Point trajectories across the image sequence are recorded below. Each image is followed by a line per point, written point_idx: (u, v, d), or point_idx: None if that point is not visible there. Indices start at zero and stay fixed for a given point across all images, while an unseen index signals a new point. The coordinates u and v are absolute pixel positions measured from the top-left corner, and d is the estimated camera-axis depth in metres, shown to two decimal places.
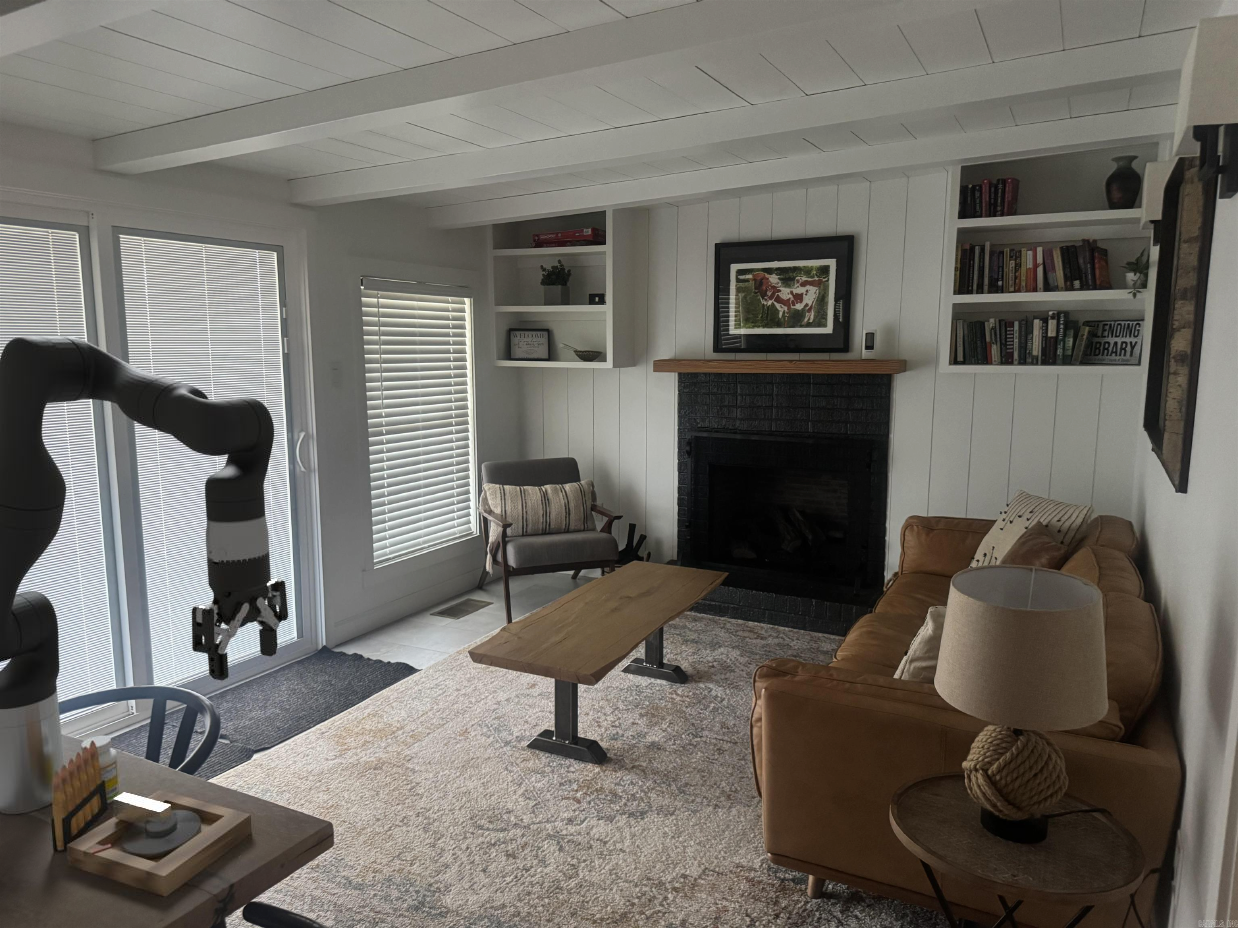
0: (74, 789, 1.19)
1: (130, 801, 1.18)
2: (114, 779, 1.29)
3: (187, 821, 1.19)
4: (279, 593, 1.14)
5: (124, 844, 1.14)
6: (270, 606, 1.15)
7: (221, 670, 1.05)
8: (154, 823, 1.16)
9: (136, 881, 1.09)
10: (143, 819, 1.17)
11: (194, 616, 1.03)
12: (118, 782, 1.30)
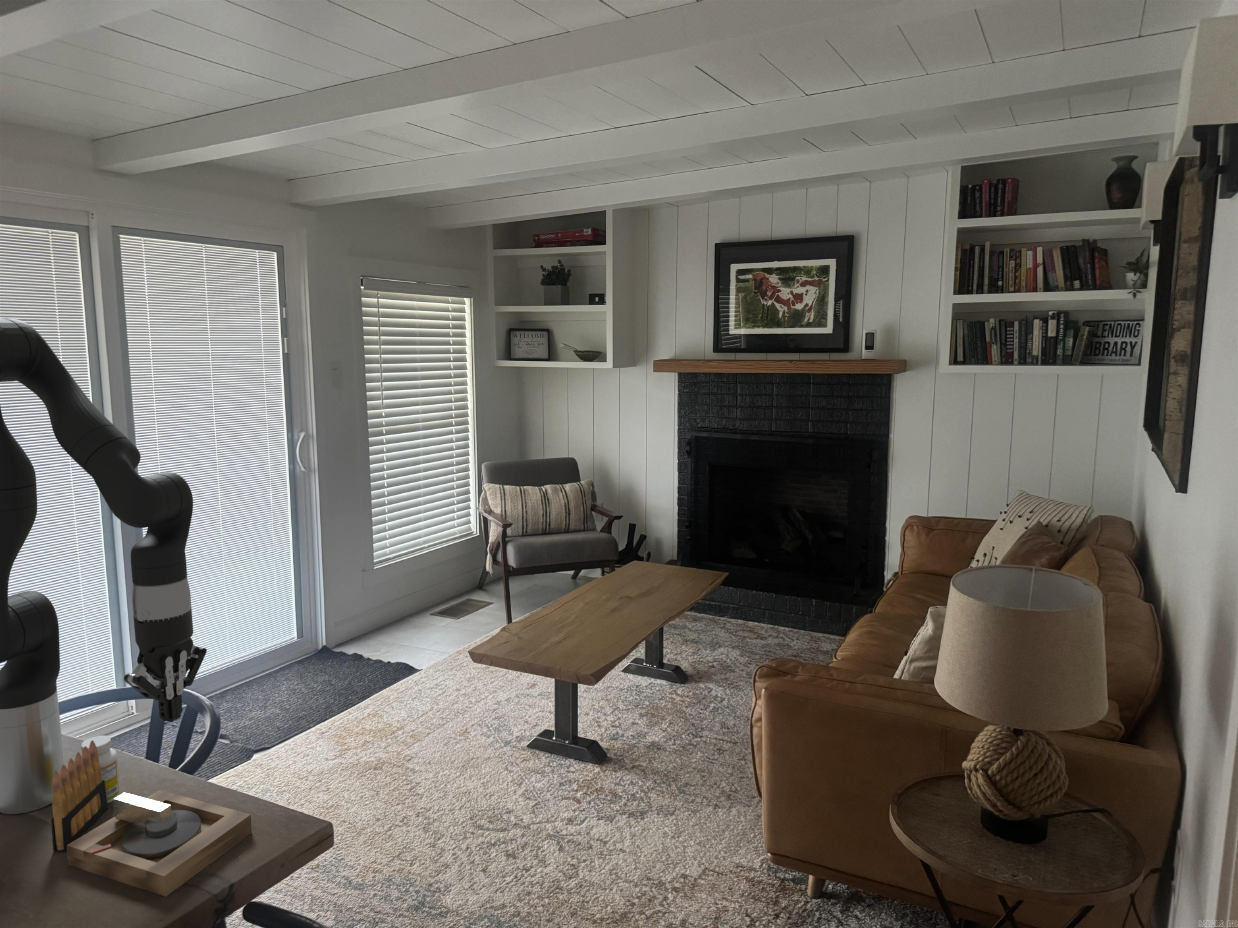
0: (74, 789, 1.19)
1: (130, 801, 1.18)
2: (114, 779, 1.29)
3: (187, 821, 1.19)
4: (197, 657, 1.25)
5: (124, 844, 1.14)
6: None
7: (170, 713, 1.22)
8: (154, 823, 1.16)
9: (136, 881, 1.09)
10: (143, 819, 1.17)
11: (129, 683, 1.16)
12: (118, 782, 1.30)
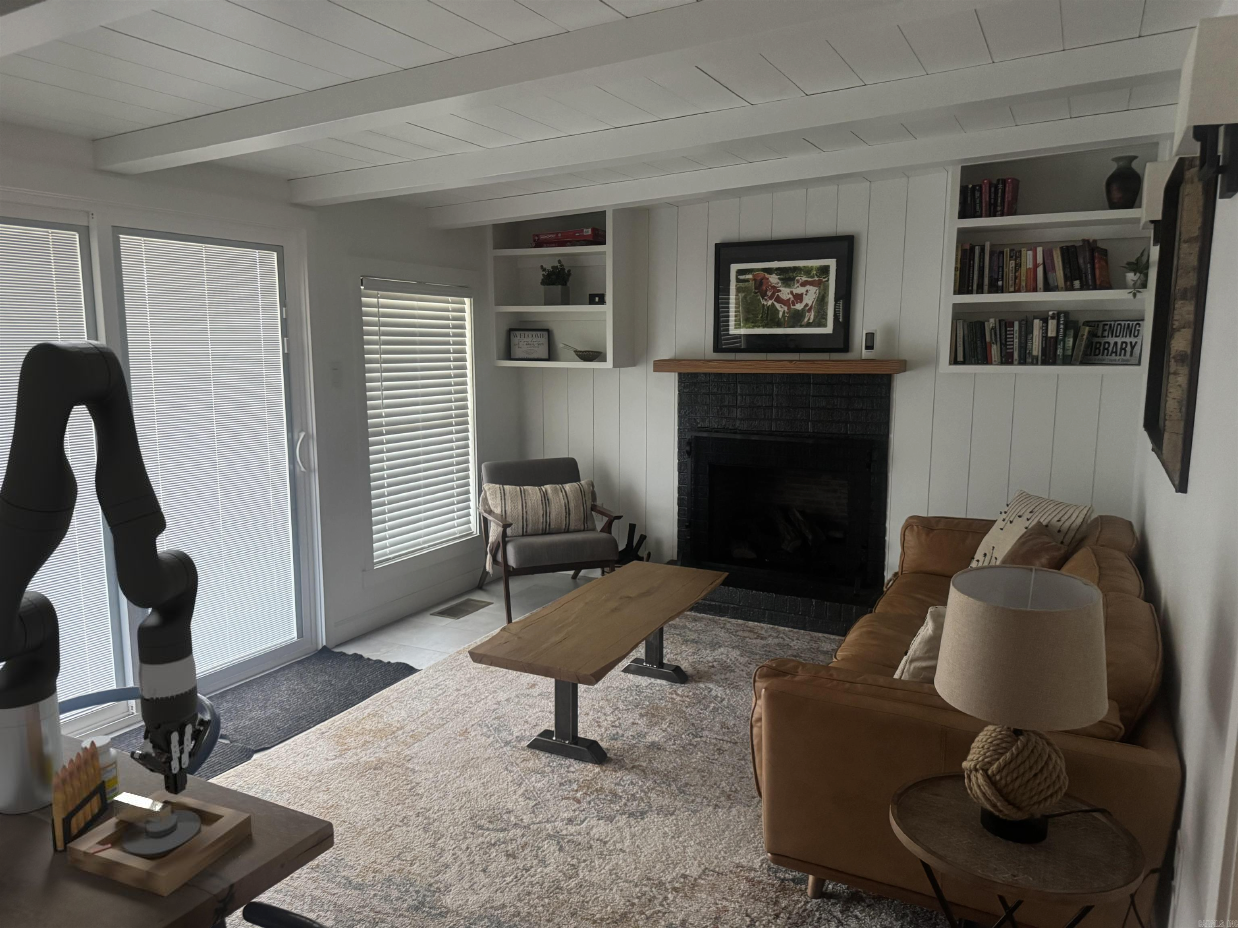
0: (74, 789, 1.19)
1: (130, 801, 1.18)
2: (114, 779, 1.29)
3: (187, 821, 1.19)
4: (202, 728, 1.27)
5: (124, 844, 1.14)
6: None
7: (175, 785, 1.23)
8: (154, 823, 1.16)
9: (136, 881, 1.09)
10: (143, 819, 1.17)
11: (135, 760, 1.18)
12: (118, 782, 1.30)
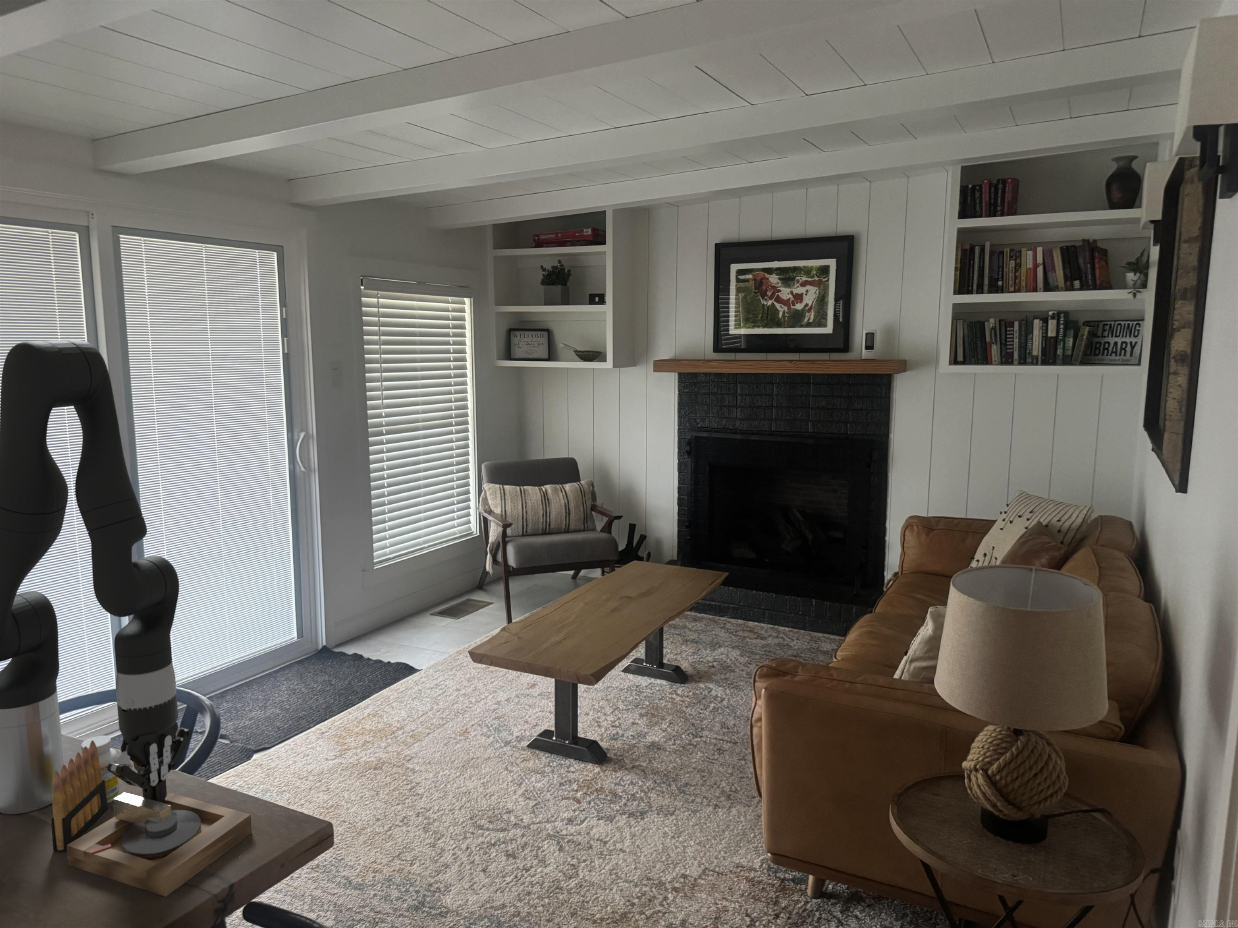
0: (74, 789, 1.19)
1: (130, 801, 1.18)
2: (114, 779, 1.29)
3: (187, 821, 1.19)
4: (182, 739, 1.24)
5: (124, 844, 1.14)
6: None
7: (154, 798, 1.20)
8: (154, 823, 1.16)
9: (136, 881, 1.09)
10: (143, 819, 1.17)
11: (113, 772, 1.15)
12: (118, 782, 1.30)
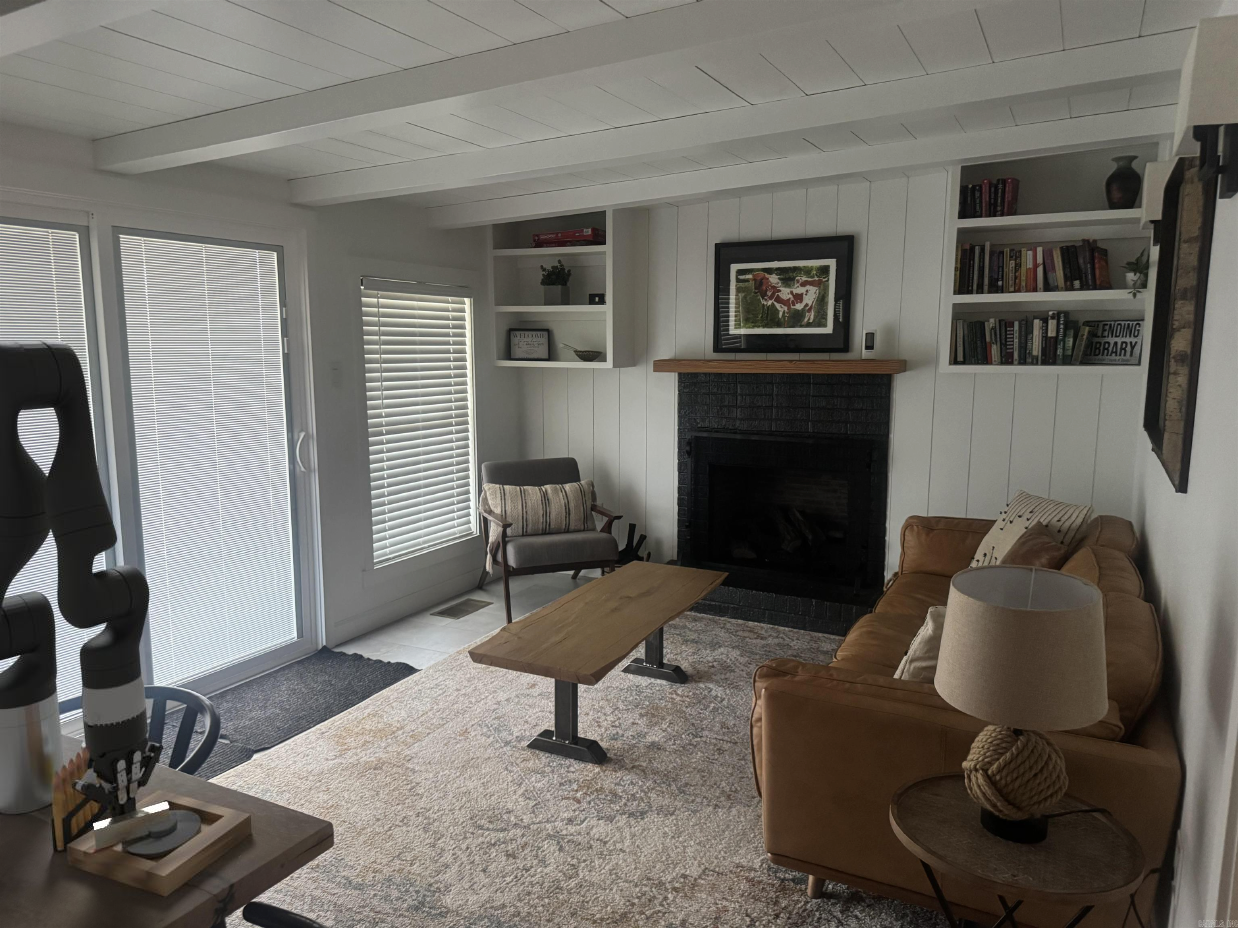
0: None
1: (119, 821, 1.13)
2: None
3: None
4: (153, 755, 1.19)
5: (151, 850, 1.13)
6: None
7: None
8: (164, 821, 1.16)
9: (136, 881, 1.09)
10: (143, 828, 1.15)
11: (78, 791, 1.10)
12: None
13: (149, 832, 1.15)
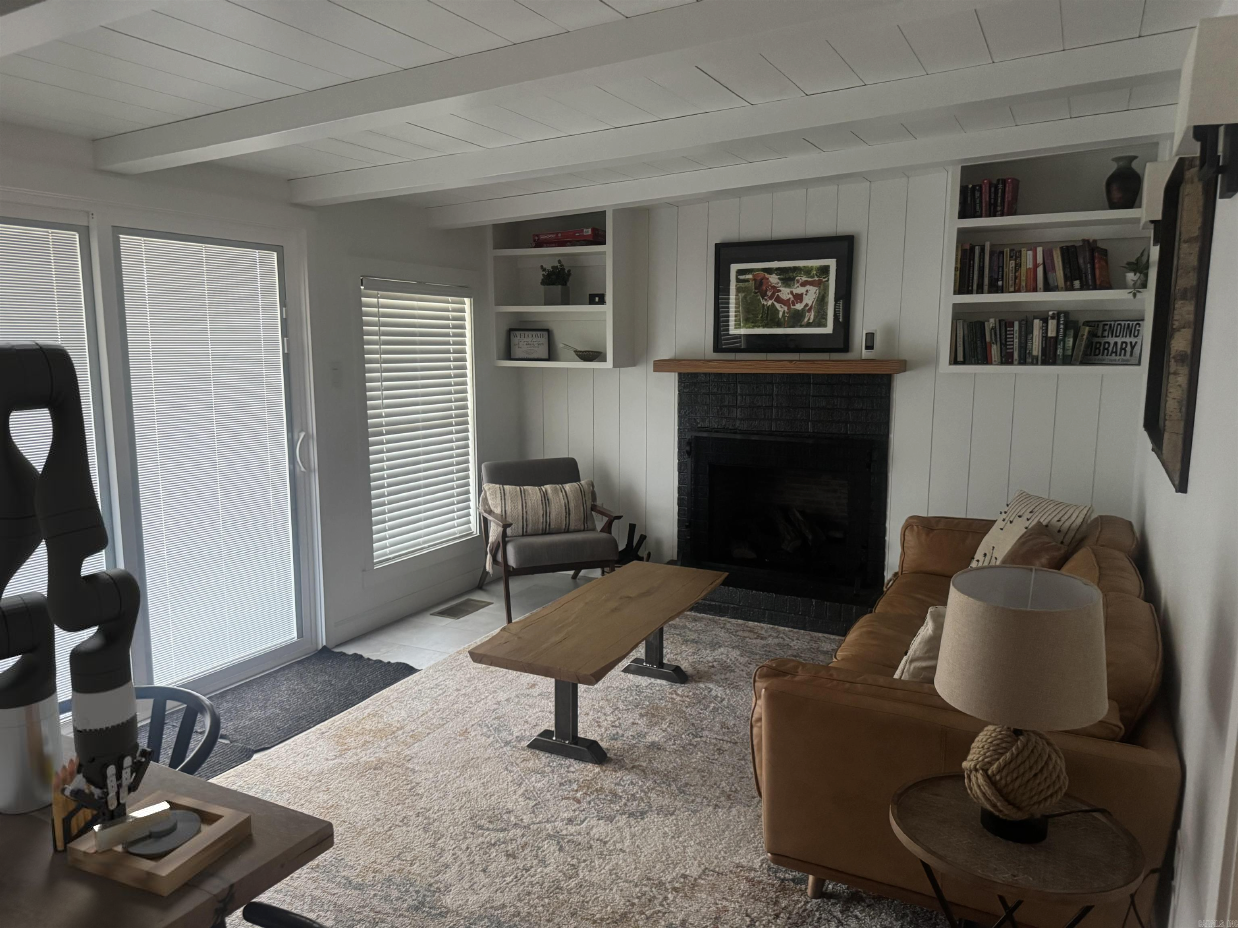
0: None
1: (120, 822, 1.13)
2: None
3: None
4: (144, 760, 1.18)
5: (155, 849, 1.13)
6: None
7: None
8: (165, 821, 1.16)
9: (136, 881, 1.09)
10: (144, 828, 1.15)
11: (67, 796, 1.09)
12: None
13: (150, 832, 1.15)
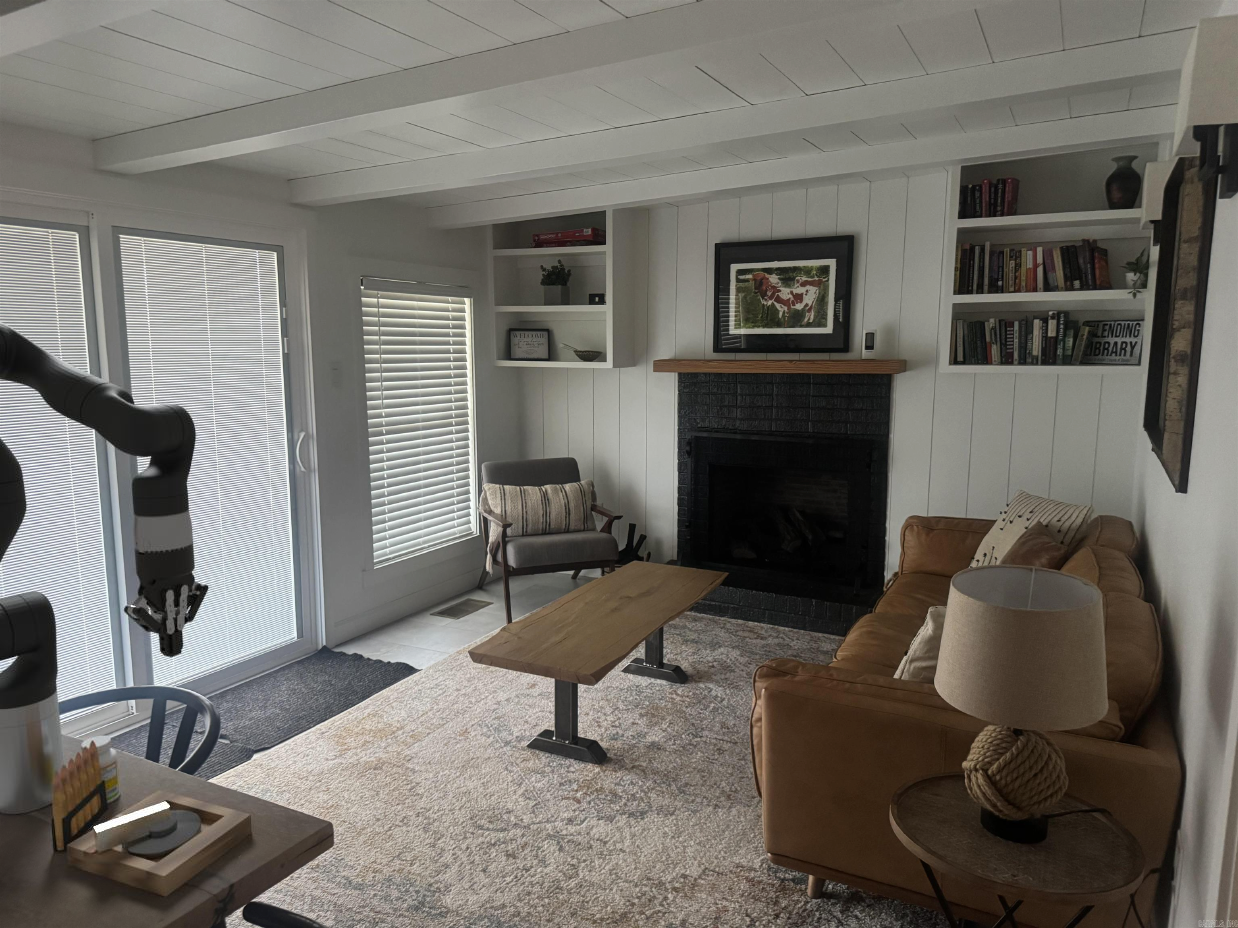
0: (74, 789, 1.19)
1: (120, 822, 1.13)
2: (114, 779, 1.29)
3: None
4: (199, 593, 1.24)
5: (155, 849, 1.13)
6: None
7: (170, 647, 1.20)
8: (165, 821, 1.16)
9: (136, 881, 1.09)
10: (144, 828, 1.15)
11: (129, 615, 1.15)
12: (118, 782, 1.30)
13: (150, 832, 1.15)
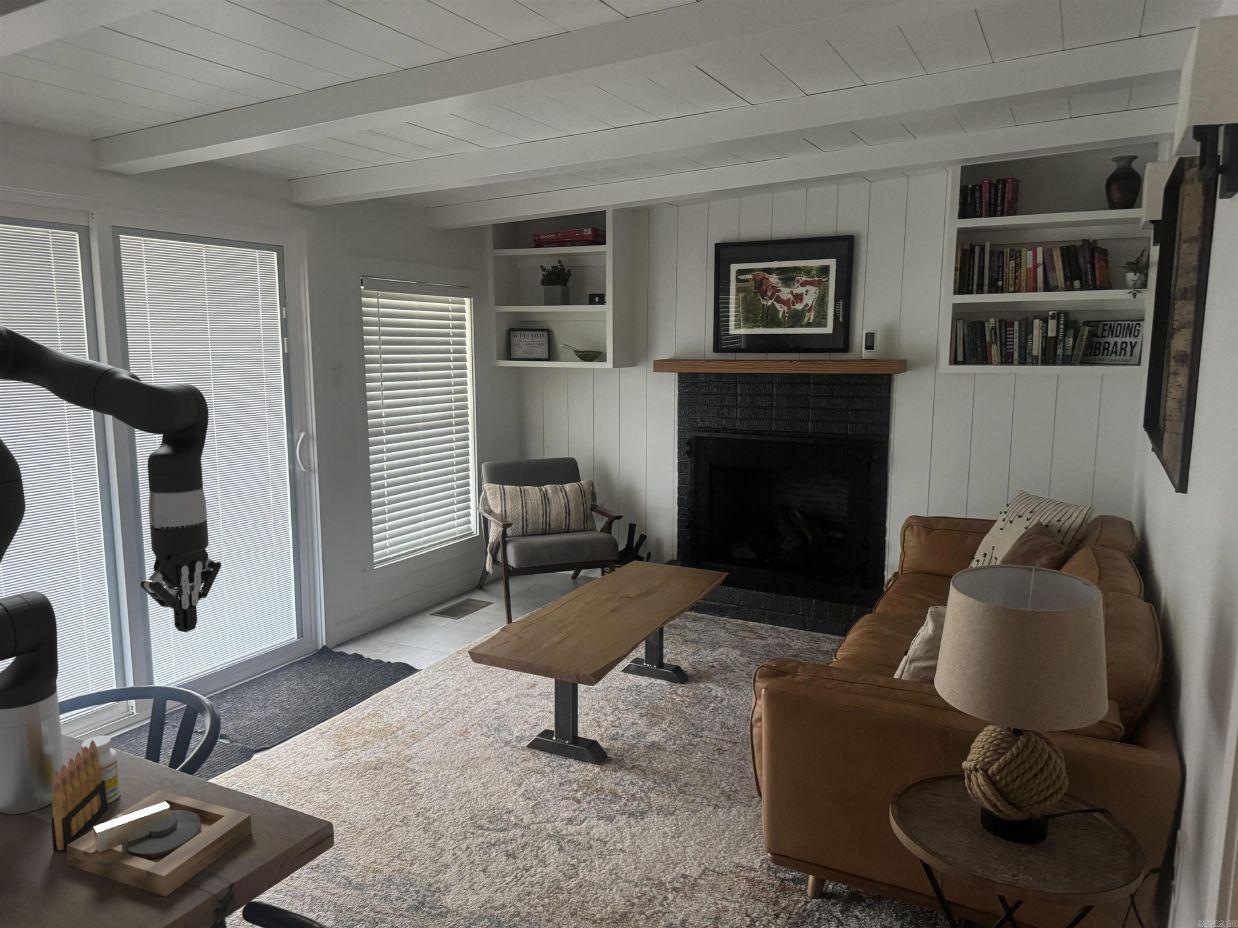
0: (74, 789, 1.19)
1: (120, 822, 1.13)
2: (114, 779, 1.29)
3: None
4: (212, 570, 1.26)
5: (155, 849, 1.13)
6: None
7: (185, 623, 1.23)
8: (165, 821, 1.16)
9: (136, 881, 1.09)
10: (144, 828, 1.15)
11: (146, 589, 1.18)
12: (118, 782, 1.30)
13: (150, 832, 1.15)
